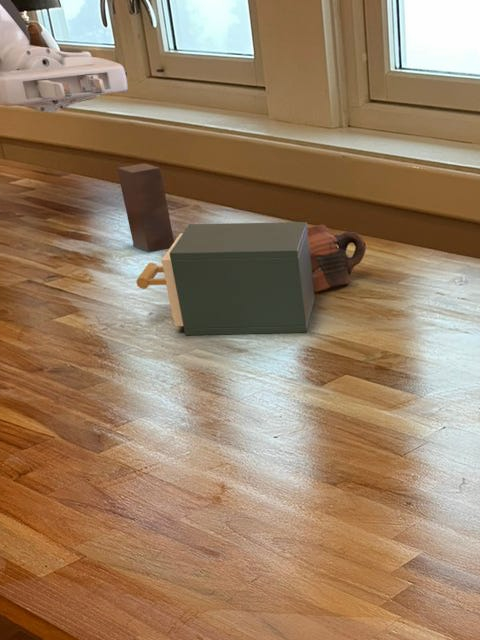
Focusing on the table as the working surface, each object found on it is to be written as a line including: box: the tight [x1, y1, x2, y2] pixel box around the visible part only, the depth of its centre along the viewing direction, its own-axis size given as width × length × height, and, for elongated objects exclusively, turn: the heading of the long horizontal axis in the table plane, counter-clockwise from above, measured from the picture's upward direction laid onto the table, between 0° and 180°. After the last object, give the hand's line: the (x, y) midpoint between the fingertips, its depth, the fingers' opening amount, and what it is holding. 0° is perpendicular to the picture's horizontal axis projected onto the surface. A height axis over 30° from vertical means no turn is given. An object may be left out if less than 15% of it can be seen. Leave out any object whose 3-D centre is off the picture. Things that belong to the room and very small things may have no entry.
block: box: [116, 162, 175, 253], centre depth 143 cm, size 4×4×11 cm
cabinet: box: [169, 221, 316, 336], centre depth 119 cm, size 15×13×10 cm
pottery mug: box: [307, 224, 367, 293], centre depth 132 cm, size 12×10×8 cm
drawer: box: [136, 232, 184, 327], centre depth 118 cm, size 18×11×8 cm, turn 93°
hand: (82, 88), depth 141 cm, fingers open, 4 cm apart
